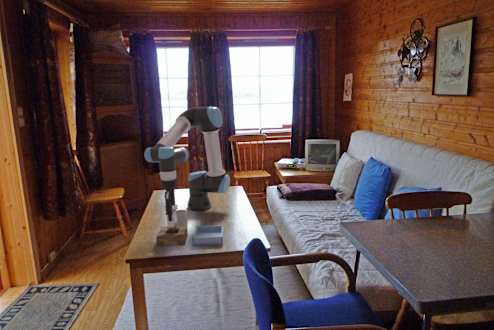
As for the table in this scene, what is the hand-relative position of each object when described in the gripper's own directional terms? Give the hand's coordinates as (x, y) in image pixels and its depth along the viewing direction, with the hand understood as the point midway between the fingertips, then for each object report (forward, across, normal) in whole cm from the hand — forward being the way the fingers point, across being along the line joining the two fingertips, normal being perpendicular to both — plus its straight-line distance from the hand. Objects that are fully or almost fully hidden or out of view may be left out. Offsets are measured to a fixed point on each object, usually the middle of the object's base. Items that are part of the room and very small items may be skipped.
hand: (172, 224), depth 179 cm
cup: (+8, -18, 0) cm, 20 cm away
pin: (+6, 0, 0) cm, 6 cm away
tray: (+8, 0, +18) cm, 20 cm away
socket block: (+8, 0, 0) cm, 8 cm away
